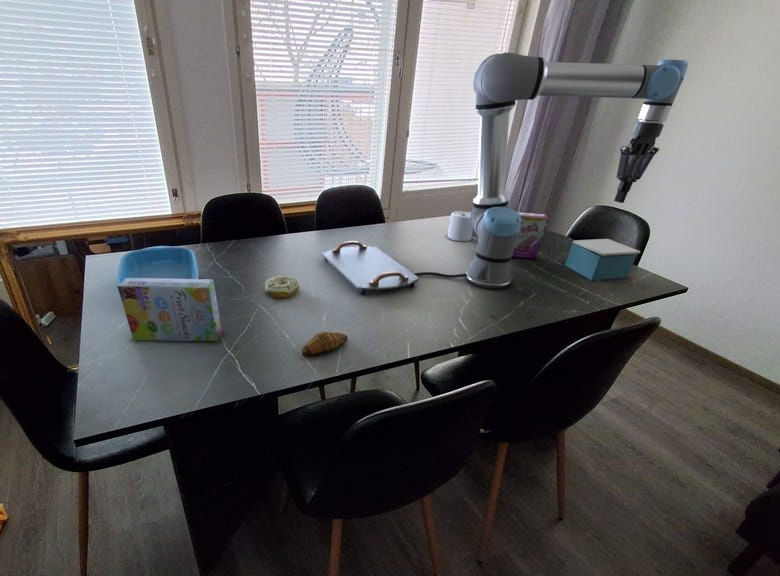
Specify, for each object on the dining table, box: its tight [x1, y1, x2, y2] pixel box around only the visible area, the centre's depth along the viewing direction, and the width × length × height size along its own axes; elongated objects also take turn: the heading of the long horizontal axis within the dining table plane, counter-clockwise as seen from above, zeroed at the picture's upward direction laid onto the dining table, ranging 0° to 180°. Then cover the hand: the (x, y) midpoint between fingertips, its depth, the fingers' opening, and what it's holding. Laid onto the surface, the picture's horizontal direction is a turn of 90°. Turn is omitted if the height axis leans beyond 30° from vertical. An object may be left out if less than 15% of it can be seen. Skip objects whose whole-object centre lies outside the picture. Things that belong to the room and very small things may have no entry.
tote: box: [564, 242, 638, 281], centre depth 154 cm, size 15×16×9 cm
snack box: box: [117, 278, 222, 342], centre depth 103 cm, size 21×6×15 cm, turn 92°
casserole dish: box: [115, 245, 200, 288], centre depth 129 cm, size 37×22×7 cm, turn 21°
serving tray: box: [321, 240, 420, 296], centre depth 145 cm, size 39×23×6 cm, turn 25°
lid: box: [572, 238, 641, 256], centre depth 151 cm, size 15×16×1 cm
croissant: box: [301, 330, 349, 358], centre depth 103 cm, size 14×7×5 cm, turn 128°
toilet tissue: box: [447, 210, 479, 242], centre depth 181 cm, size 11×12×10 cm
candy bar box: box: [512, 211, 549, 260], centre depth 162 cm, size 11×5×16 cm, turn 84°
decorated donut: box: [264, 275, 300, 299], centre depth 130 cm, size 10×11×4 cm
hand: (618, 201), depth 141 cm, fingers closed
